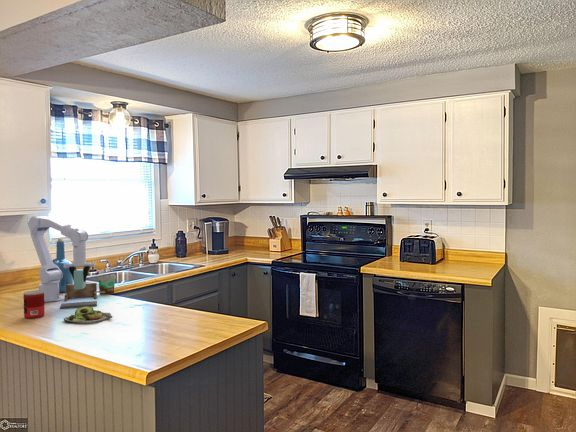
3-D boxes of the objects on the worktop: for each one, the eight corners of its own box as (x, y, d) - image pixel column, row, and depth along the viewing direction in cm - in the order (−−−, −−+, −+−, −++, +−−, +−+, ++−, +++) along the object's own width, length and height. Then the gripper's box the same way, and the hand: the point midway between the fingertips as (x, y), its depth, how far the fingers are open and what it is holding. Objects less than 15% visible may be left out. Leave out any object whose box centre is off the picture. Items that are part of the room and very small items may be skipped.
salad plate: (124, 316, 202) (124, 306, 202) (96, 326, 185) (96, 315, 185) (88, 313, 208) (87, 303, 208) (57, 323, 191) (57, 312, 191)
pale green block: (73, 289, 227) (73, 271, 227) (77, 286, 235) (77, 269, 235) (82, 289, 228) (82, 271, 228) (85, 286, 236) (85, 268, 236)
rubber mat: (60, 308, 216) (60, 306, 216) (61, 305, 224) (61, 303, 224) (96, 306, 222) (96, 304, 222) (97, 302, 230) (96, 300, 230)
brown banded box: (64, 301, 234) (64, 287, 234) (66, 297, 243) (65, 284, 243) (96, 298, 240) (96, 285, 240) (96, 295, 248) (96, 282, 248)
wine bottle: (78, 289, 268) (78, 238, 267) (63, 293, 255) (63, 239, 254) (57, 288, 270) (57, 237, 269) (41, 292, 257) (41, 239, 256)
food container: (108, 295, 249) (107, 277, 249) (97, 294, 251) (97, 276, 250) (120, 291, 262) (120, 273, 261) (110, 290, 263) (110, 273, 263)
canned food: (48, 315, 204) (48, 290, 203) (33, 319, 196) (32, 294, 196) (35, 314, 206) (35, 289, 206) (19, 318, 198) (19, 293, 198)
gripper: (96, 253, 236) (96, 279, 237) (65, 254, 233) (66, 281, 233) (93, 255, 230) (94, 282, 230) (62, 255, 226) (62, 283, 227)
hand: (79, 281), depth 231 cm, fingers closed on pale green block, 4 cm apart
